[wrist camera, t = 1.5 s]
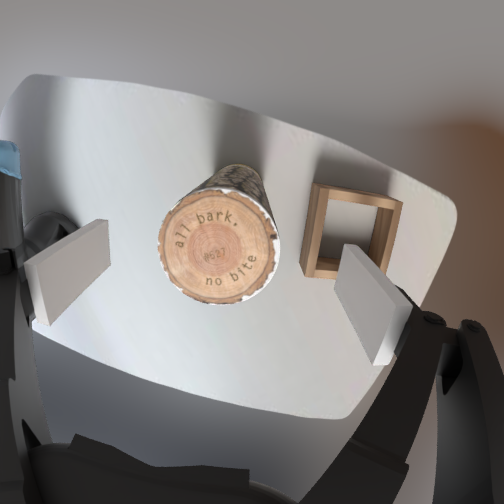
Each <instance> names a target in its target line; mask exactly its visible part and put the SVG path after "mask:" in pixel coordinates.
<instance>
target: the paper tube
mask: <svg viewBox="0 0 504 504" xmlns="http://www.w3.org/2000/svg"><path fill="white" fill-rule="evenodd" d="M158 254H159V259H160V262H161V265H162V268H163V270H164V272H165V274H166V275H167V277H168V278H169V280H170V281H171V282H172V283H173V284H174V285H175V287H177V288H178V289H179V290H180V291H181V292H183V293H184V294H185V295H187V296H189V297H190V298H192V299H195V300H197V301H200V302H203V303H206V304H212V305H230V304H235V303H239V302H242V301H245V300H247V299H249V298H251V297H253V296H254V295H256V294H257V293H259V292H260V291H261V290H262V289H263V288H264V287H265V286H266V285H267V284H268V283H269V281H270V280H271V278H272V277H273V275H274V273H275V271H276V268H277V266H278V262H279V257H280V241H279V235H278V230H277V227H276V224H275V221H274V218H273V214H272V211H271V208H270V205H269V202H268V199H267V195H266V192H265V189H264V186H263V183H262V181H261V178H260V176H259V175H258V173H257V172H256V171H255V170H254V169H252V168H251V167H249V166H247V165H244V164H232V165H228V166H226V167H224V168H223V169H221V170H220V171H218V172H217V173H216V174H214V175H213V176H211V177H210V178H209V179H207V180H206V181H205V182H203V183H202V184H200V185H199V186H198V187H196V188H195V189H194V190H192V191H191V192H190V193H188V194H187V195H186V196H184V197H183V198H182V199H181V200H179V201H178V202H177V203H176V204H175V205H174V206H173V207H172V209H171V210H170V211H169V212H168V214H167V215H166V217H165V219H164V220H163V223H162V225H161V228H160V231H159V236H158Z"/></svg>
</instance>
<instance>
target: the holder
mask: <svg viewBox="0 0 504 504" xmlns="http://www.w3.org/2000/svg"><path fill="white" fill-rule="evenodd" d="M328 199H334V200H341V201H347V202H353V203H359V204H365V205H371V206H377V207H378V211H377V216H376V221H375V226H374V230H373V235H372V239H371V244H370V248H369V252H368V257H369V258H370V259H371V260H372V261H373V262H374V263H375V264H376V265H377V267H378V268H379V269H380V270H381V271H382V272H383V273H384V274H385V275H386V271H387V268H388V264H389V260H390V257H391V253H392V249H393V245H394V241H395V237H396V233H397V228H398V224H399V219H400V215H401V210H402V205H403V202H401V201H398V200H396V199H394V198H391V197H389V196H386V195H381V194H376V193H370V192H365V191H360V190H354V189H348V188H342V187H336V186H330V185H324V184H317V183H312V187H311V194H310V201H309V207H308V213H307V220H306V226H305V232H304V238H303V244H302V250H301V256H300V261H299V263H300V266H301V268H302V271H303V273H304V276H305V277H311V278H323V279H335V280H336V278H337V274H338V270H339V265H340V261H341V259H334V258H324V257H318V253H319V248H320V243H321V237H322V232H323V226H324V220H325V215H326V209H327V203H328Z"/></svg>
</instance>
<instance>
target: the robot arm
mask: <svg viewBox="0 0 504 504" xmlns="http://www.w3.org/2000/svg"><path fill="white" fill-rule="evenodd" d="M21 180H22V176H21V173H20V152H19V149H18V147H17V146H16V145H15V144H14V143H13V142H10V141H3V140H0V504H393V502H394V500H395V498H396V496H397V494H398V492H399V490H400V488H401V486H402V484H403V482H404V480H405V477H406V475H407V472H408V470H409V465H408V464H406V463H405V461H406V458H407V456H408V454H409V451H410V449H411V447H412V444H413V442H414V439H415V437H416V434H417V432H418V429H419V426H420V423H421V421H422V418H423V415H424V412H425V409H426V406H427V403H428V400H429V396H430V393H431V390H432V386H433V383H434V379H435V376H436V389H437V413H438V440H437V441H438V442H437V464H436V477H435V486H434V495H433V502H432V504H504V375H503V372H502V369H501V366H500V364H499V361H498V358H497V356H496V353H495V351H494V348H493V346H492V343H491V341H490V338H489V336H488V334H487V331H486V330H485V328H484V327H483V326H482V325H481V324H480V323H479V322H477V321H473V320H468V319H465V320H462V321H461V324H460V326H459V328H458V329H453V328H448V327H446V326H447V325H446V322H445V320H444V319H443V318H442V317H441V316H439V315H437V314H435V313H432V312H429V311H422V310H421V309H420V308H419V307H418V306H417V305H416V304H415V302H414V301H412V299H411V298H410V297H409V296H408V295H407V294H406V292H405V291H404V290H403V289H401V288H399V287H398V286H396V285H394V284H393V283H392V282H391V281H390V279H389V278H388V277H387V276H386V275H385V274H384V273H383V272H382V271H381V270H380V269H379V268H378V267H377V265H376V264H375V263H374V262H373V261H372V260H371V259H370V258H369V257H368V256H367V255H366V254H365V253H364V252H363V251H362V250H361V249H360V248H359V247H358V246H357V245H352V244H344V247H343V252H342V257H341V261H340V265H339V270H338V274H337V278H336V282H335V287H334V290H335V292H336V294H337V296H338V298H339V300H340V301H341V303H342V305H343V307H344V309H345V311H346V313H347V315H348V317H349V319H350V321H351V323H352V325H353V327H354V329H355V331H356V333H357V335H358V337H359V339H360V341H361V343H362V345H363V347H364V349H365V351H366V353H367V356H368V358H369V360H370V362H371V364H372V366H373V365H389V363H390V360H391V358H392V356H393V354H394V353H395V355H396V357H397V360H396V362H395V364H394V366H393V368H392V370H391V372H390V374H389V375H388V377H387V379H386V381H385V383H384V385H383V387H382V388H381V390H380V392H379V394H378V395H377V397H376V399H375V400H374V402H373V404H372V406H371V407H370V409H369V411H368V412H367V414H366V416H365V417H364V419H363V420H362V422H361V423H360V425H359V426H358V428H357V429H356V431H355V432H354V434H353V435H352V437H351V438H350V439H349V441H348V442H347V443H346V445H345V446H344V447H343V449H342V450H341V452H340V453H339V454H338V456H337V457H336V458H335V460H334V461H333V463H332V464H331V465H330V466H329V468H328V469H327V470H326V471H325V473H324V474H323V475H322V477H321V478H320V479H319V480H318V481H317V483H316V484H315V485H314V486H313V487H312V488H311V490H310V491H309V492H308V493H307V494H306V495H305V497H304V498H303V499H302V500H301V501H300V502H299V503H296V502H295V501H294V500H293V499H291V498H290V497H288V496H287V495H285V494H283V493H282V492H280V491H278V490H276V489H274V488H271V487H269V486H267V485H264V484H261V483H258V482H254V481H250V480H249V469H235V468H223V467H213V466H204V465H201V466H182V467H154V466H150V465H148V464H145V463H144V462H142V461H140V460H138V459H135V458H134V457H132V456H130V455H128V454H126V453H124V452H122V451H120V450H119V449H117V448H115V447H113V446H111V445H107V444H104V443H101V442H98V441H95V440H92V439H89V438H86V437H83V436H81V435H78V434H75V436H74V438H73V440H72V442H71V443H53V442H52V438H51V435H50V432H49V428H48V424H47V420H46V416H45V412H44V407H43V403H42V398H41V393H40V388H39V382H38V376H37V370H36V363H35V355H34V346H33V336H32V321H33V320H34V319H35V318H36V319H37V322H38V323H41V324H44V325H48V326H51V324H52V323H53V322H54V321H55V320H56V319H57V318H58V317H59V316H60V315H61V314H62V313H63V312H64V311H65V310H66V309H67V308H68V307H69V306H70V305H71V303H72V302H73V301H74V300H75V299H76V298H77V297H78V296H79V295H80V294H81V293H82V292H83V291H84V290H85V289H86V288H87V287H88V286H89V285H90V284H91V283H93V282H94V281H95V280H96V279H97V278H98V277H99V276H100V275H101V274H102V273H103V272H104V271H105V270H106V269H107V268H108V267H109V266H110V265H111V263H110V249H109V230H108V220H102V219H96V220H94V221H93V222H91V223H89V224H87V225H85V226H84V227H82V228H80V229H78V228H77V227H76V225H75V224H74V223H73V222H72V221H71V220H69V219H68V218H67V217H65V216H64V215H62V214H59V213H55V212H47V213H43V214H41V215H39V216H37V217H35V218H33V219H32V220H31V221H30V222H29V223H28V224H27V225H26V226H25V228H24V229H23V218H22V205H21Z"/></svg>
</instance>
